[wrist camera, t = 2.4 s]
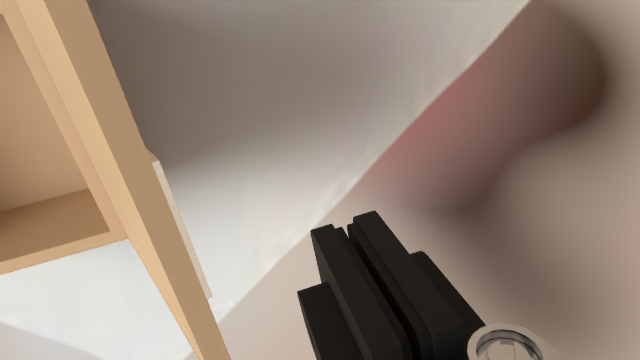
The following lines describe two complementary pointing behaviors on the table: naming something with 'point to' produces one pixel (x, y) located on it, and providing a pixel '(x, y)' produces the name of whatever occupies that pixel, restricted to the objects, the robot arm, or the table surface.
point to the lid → (124, 163)
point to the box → (43, 162)
